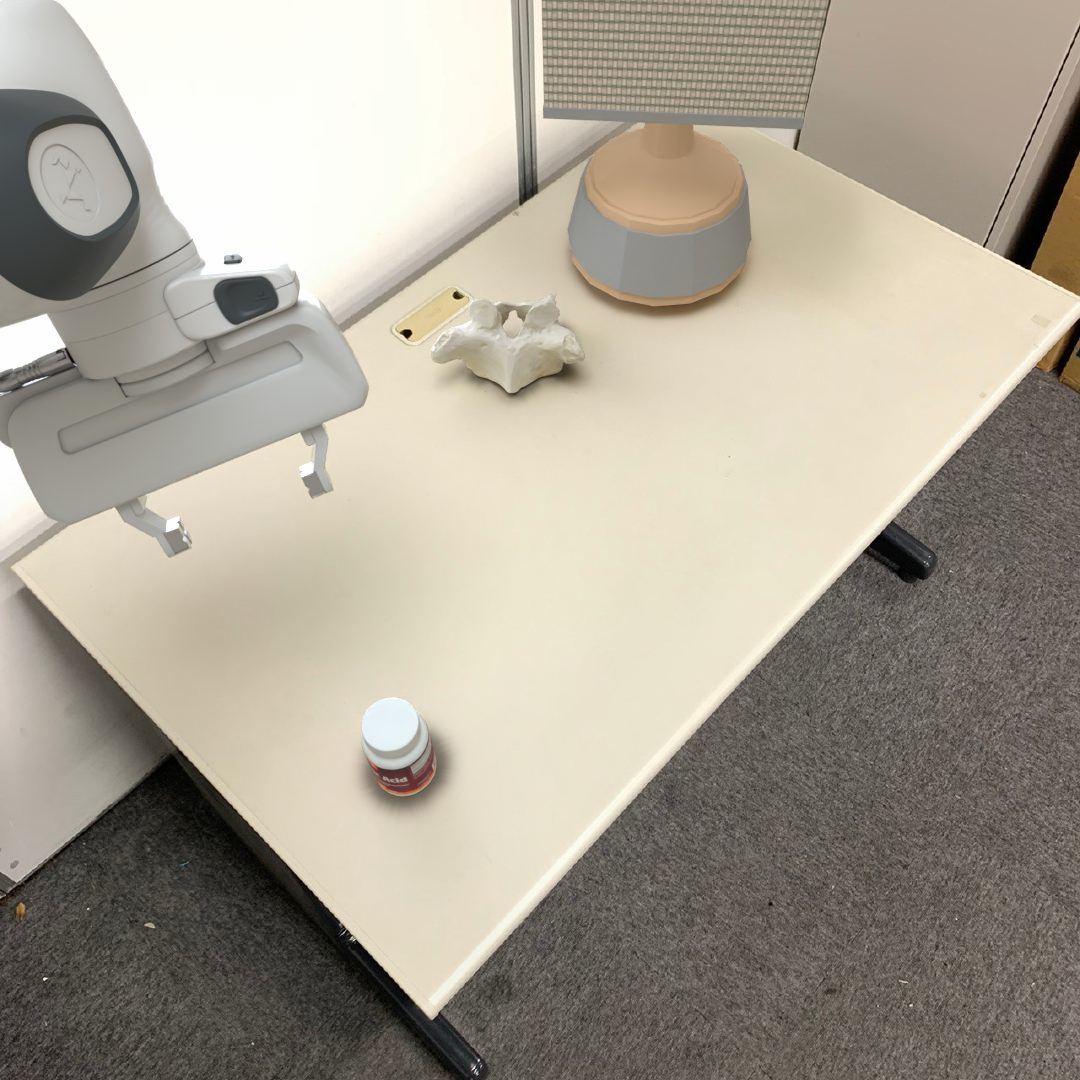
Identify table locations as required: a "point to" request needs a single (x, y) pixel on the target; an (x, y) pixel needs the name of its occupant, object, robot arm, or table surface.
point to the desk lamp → (672, 130)
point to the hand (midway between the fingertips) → (252, 520)
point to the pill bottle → (398, 746)
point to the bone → (510, 342)
